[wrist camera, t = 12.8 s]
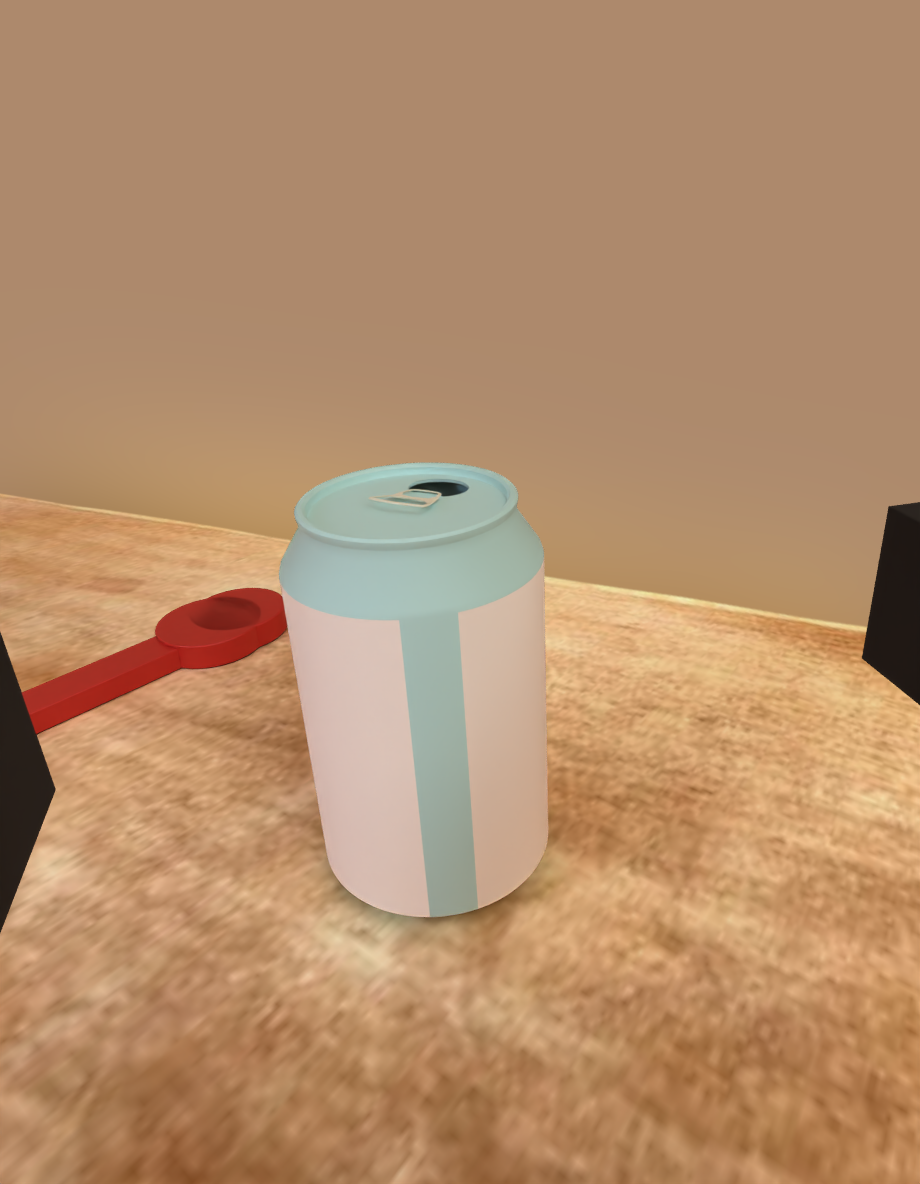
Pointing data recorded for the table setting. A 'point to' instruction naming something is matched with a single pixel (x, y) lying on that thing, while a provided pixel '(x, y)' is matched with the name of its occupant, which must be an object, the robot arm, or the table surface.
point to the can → (422, 682)
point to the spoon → (165, 652)
